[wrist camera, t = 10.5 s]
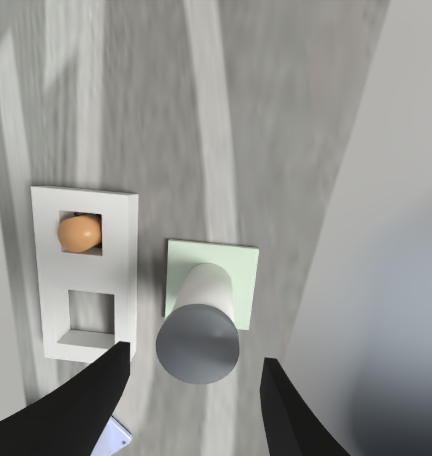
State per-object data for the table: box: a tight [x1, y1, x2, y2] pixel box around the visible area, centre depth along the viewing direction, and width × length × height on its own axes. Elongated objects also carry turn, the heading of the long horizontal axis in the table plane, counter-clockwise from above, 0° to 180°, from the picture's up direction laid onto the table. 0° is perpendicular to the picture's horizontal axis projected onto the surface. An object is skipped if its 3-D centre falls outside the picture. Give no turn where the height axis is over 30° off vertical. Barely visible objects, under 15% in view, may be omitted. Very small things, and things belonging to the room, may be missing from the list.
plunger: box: [57, 214, 102, 252], centre depth 19 cm, size 3×3×2 cm
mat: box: [165, 239, 259, 330], centre depth 21 cm, size 8×8×1 cm
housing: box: [31, 186, 138, 363], centre depth 21 cm, size 16×8×2 cm, turn 175°
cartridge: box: [156, 263, 239, 384], centre depth 17 cm, size 5×5×8 cm
